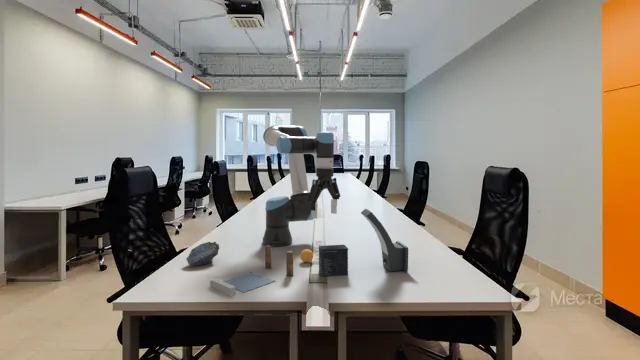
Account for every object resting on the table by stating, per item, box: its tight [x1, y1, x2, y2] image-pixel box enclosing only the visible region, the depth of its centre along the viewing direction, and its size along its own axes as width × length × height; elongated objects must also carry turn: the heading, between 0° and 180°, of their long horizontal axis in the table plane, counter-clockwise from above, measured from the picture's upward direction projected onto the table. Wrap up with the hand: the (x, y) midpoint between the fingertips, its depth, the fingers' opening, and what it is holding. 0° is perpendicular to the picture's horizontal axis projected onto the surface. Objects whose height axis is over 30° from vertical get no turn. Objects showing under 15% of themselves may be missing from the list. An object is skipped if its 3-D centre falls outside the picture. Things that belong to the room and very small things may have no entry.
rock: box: [185, 241, 220, 266], centre depth 153 cm, size 16×8×10 cm
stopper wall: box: [209, 277, 237, 297], centre depth 123 cm, size 12×2×2 cm, turn 49°
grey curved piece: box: [360, 208, 409, 273], centre depth 145 cm, size 11×17×24 cm, turn 100°
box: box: [318, 244, 349, 277], centre depth 140 cm, size 11×7×10 cm, turn 100°
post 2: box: [285, 250, 294, 277], centre depth 138 cm, size 3×3×9 cm
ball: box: [299, 248, 314, 263], centre depth 154 cm, size 6×6×6 cm
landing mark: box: [222, 271, 276, 293], centre depth 131 cm, size 14×14×1 cm
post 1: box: [264, 245, 272, 270], centre depth 146 cm, size 3×3×9 cm
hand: (324, 215), depth 160 cm, fingers open, 13 cm apart
